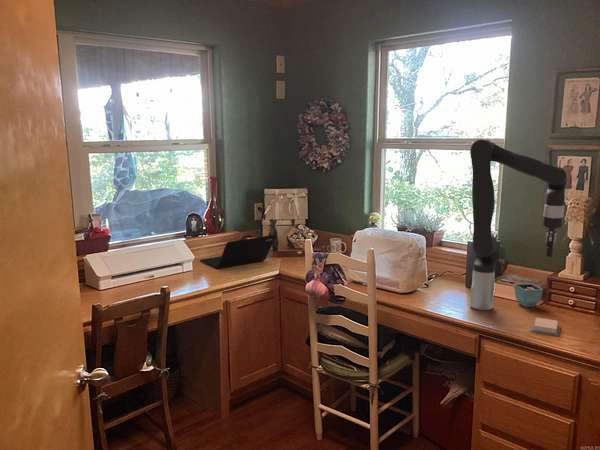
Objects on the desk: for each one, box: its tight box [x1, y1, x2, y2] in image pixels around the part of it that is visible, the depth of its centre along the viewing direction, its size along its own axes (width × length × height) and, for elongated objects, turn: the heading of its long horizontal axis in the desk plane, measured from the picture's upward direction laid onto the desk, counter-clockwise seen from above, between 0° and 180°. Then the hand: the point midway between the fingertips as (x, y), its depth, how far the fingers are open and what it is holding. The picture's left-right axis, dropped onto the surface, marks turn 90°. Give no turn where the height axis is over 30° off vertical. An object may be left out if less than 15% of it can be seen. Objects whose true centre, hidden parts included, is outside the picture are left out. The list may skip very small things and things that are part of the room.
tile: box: [534, 317, 558, 334], centre depth 203 cm, size 8×2×10 cm
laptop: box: [199, 234, 277, 270], centre depth 306 cm, size 33×38×19 cm
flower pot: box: [514, 283, 543, 308], centre depth 230 cm, size 9×9×9 cm
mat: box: [530, 321, 561, 337], centre depth 203 cm, size 10×10×1 cm
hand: (549, 256), depth 213 cm, fingers closed
